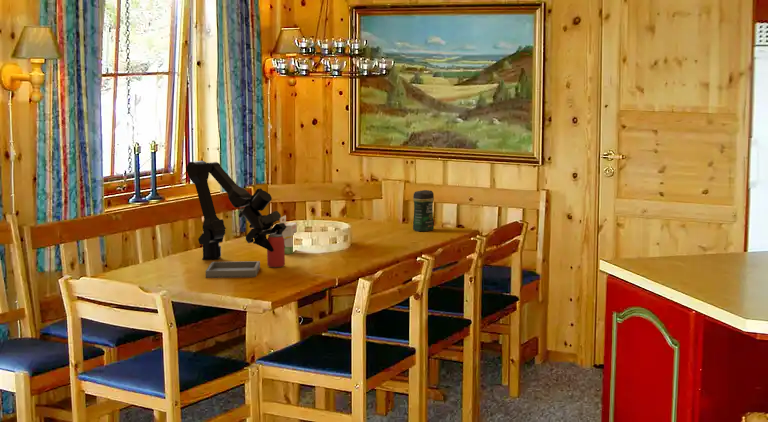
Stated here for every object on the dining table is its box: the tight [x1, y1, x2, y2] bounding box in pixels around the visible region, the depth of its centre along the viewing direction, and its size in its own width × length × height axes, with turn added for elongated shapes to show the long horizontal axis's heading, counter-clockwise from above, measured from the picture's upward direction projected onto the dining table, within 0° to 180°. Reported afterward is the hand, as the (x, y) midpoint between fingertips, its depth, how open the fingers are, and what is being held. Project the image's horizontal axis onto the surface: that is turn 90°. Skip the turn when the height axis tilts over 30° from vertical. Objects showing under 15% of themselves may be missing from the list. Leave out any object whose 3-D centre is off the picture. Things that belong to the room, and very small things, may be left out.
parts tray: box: [205, 260, 261, 279], centre depth 385 cm, size 18×18×2 cm
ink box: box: [279, 214, 298, 255], centre depth 426 cm, size 9×5×15 cm, turn 168°
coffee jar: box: [412, 189, 435, 232], centre depth 479 cm, size 10×8×19 cm
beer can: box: [266, 234, 286, 269], centre depth 395 cm, size 7×7×12 cm
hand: (278, 249), depth 394 cm, fingers closed on beer can, 6 cm apart
